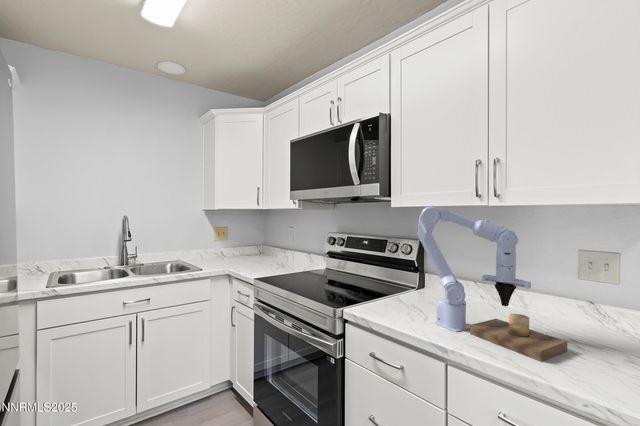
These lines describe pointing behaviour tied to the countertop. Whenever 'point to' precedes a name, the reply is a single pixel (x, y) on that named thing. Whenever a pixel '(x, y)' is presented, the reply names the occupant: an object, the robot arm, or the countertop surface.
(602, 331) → the countertop surface
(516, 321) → the oak peg
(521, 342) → the walnut board
